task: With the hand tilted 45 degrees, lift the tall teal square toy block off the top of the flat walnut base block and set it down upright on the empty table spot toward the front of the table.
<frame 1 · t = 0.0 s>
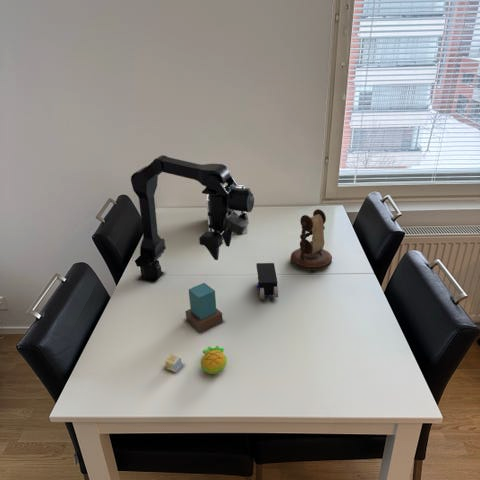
hand: (222, 252, 146), 15 cm above the table, tool pointing down, fingers open, 9 cm apart
brown upright piece: (310, 263, 167), on the table
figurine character: (267, 292, 152), on the table
walnut base: (204, 321, 140), on the table, touching teal block
alphabet block: (174, 368, 123), on the table
toy pineapple: (214, 367, 123), on the table
teal block: (203, 311, 138), point 3 cm above the table, touching walnut base
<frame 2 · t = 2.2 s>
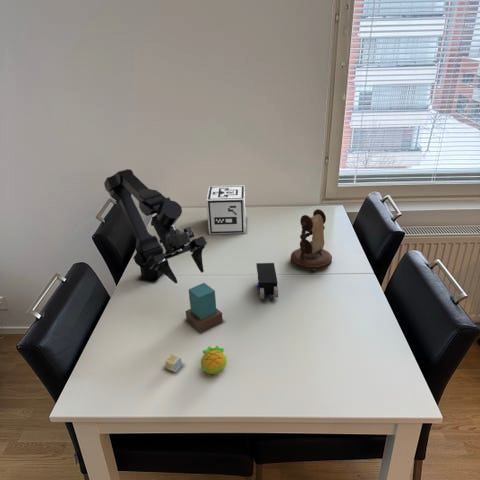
hand: (189, 277, 137), 13 cm above the table, tool tilted 45°, fingers open, 9 cm apart
nothing on the table moved.
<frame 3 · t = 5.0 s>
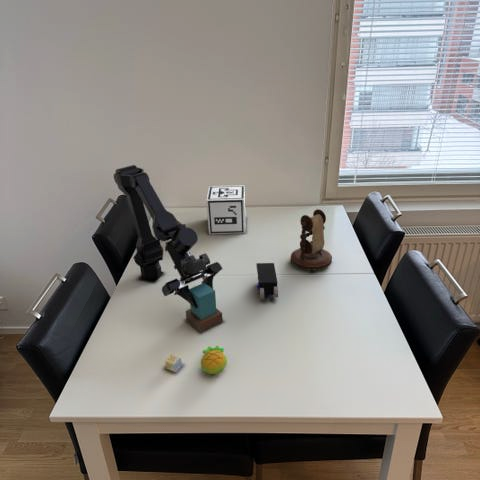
hand: (205, 304, 135), 7 cm above the table, tool tilted 45°, fingers closed on teal block, 5 cm apart
teal block: (203, 311, 138), point 3 cm above the table, touching gripper, walnut base
everything else where it was.
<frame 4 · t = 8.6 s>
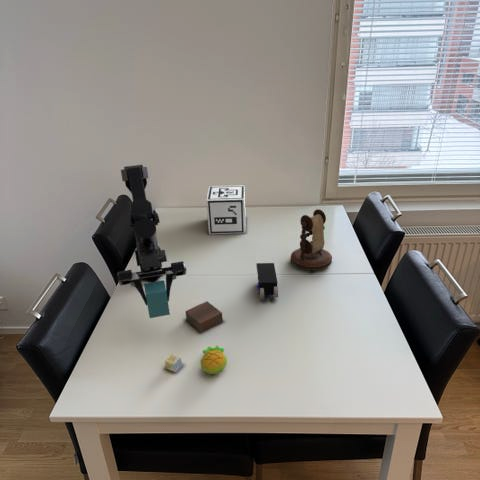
hand: (157, 303, 126), 13 cm above the table, tool tilted 45°, fingers closed on teal block, 5 cm apart
walnut base: (204, 321, 140), on the table
teal block: (158, 310, 129), point 9 cm above the table, touching gripper
everything else where it was.
when the fingers open (4 cm above the table, at t = 12.3 s): teal block stays where it is, on the table.
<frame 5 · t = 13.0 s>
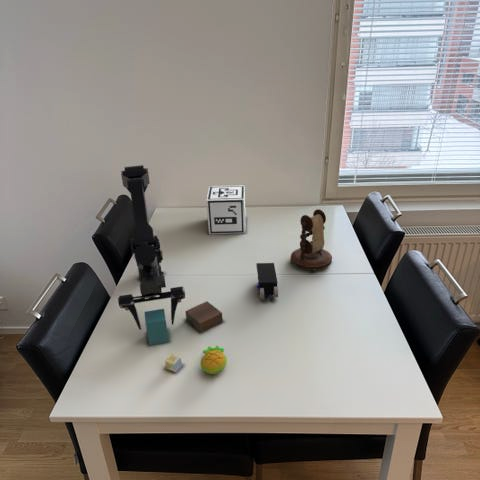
hand: (156, 326, 130), 5 cm above the table, tool tilted 45°, fingers open, 9 cm apart
teal block: (158, 337, 134), on the table
everything else where it was.
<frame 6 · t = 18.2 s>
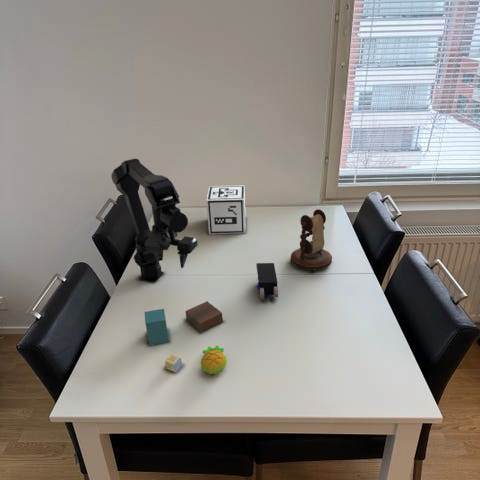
hand: (169, 265, 145), 12 cm above the table, tool pointing down, fingers open, 9 cm apart
nothing on the table moved.
at the end: teal block 0.1 cm from the target spot, on the table; teal block tilted 0°; walnut base moved 0.0 cm from its start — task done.
